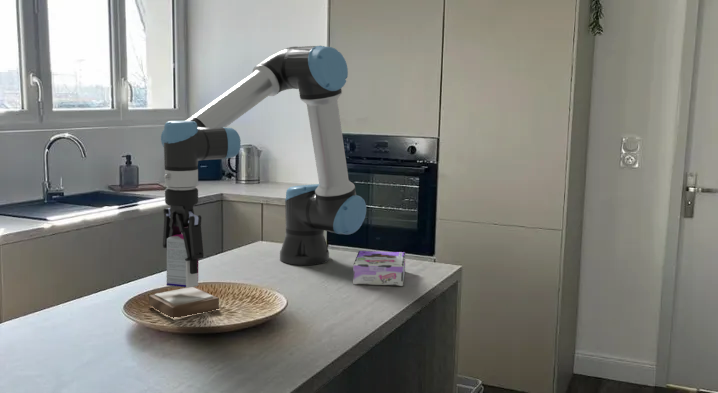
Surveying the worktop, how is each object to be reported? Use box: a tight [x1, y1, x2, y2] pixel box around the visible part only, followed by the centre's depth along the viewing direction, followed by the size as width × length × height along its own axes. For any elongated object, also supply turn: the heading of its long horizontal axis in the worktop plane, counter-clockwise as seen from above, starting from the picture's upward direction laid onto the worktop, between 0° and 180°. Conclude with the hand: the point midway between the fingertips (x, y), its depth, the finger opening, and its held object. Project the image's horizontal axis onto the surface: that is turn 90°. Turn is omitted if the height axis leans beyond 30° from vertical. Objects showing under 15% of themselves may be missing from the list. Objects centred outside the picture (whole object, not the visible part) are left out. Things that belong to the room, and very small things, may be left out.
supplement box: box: [166, 233, 188, 288], centre depth 169 cm, size 6×6×12 cm
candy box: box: [352, 250, 406, 287], centre depth 201 cm, size 14×6×16 cm
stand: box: [148, 286, 220, 318], centre depth 171 cm, size 12×12×3 cm
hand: (183, 282), depth 170 cm, fingers closed on supplement box, 8 cm apart
